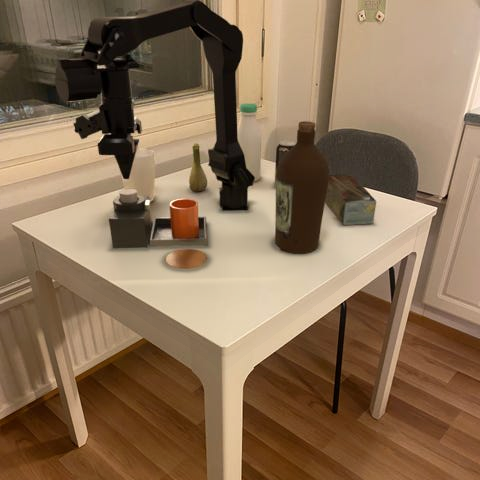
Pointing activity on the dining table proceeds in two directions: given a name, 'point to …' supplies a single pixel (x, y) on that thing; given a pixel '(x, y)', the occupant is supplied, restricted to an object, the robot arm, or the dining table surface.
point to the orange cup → (184, 218)
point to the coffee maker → (130, 223)
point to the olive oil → (301, 194)
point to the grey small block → (147, 205)
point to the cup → (142, 173)
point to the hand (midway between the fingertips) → (126, 178)
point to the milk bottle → (250, 138)
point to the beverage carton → (350, 200)
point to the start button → (128, 196)
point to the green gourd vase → (197, 172)
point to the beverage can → (282, 151)
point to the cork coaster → (186, 259)
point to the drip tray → (164, 237)
